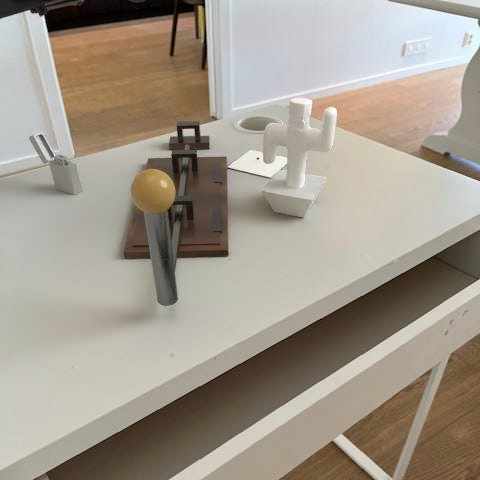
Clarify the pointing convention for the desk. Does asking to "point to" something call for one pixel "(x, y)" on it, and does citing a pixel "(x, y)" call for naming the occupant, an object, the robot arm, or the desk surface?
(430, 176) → the desk surface
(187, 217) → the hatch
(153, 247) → the bolt
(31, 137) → the lighter
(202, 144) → the keeper
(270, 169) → the white piece
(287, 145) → the figurine
